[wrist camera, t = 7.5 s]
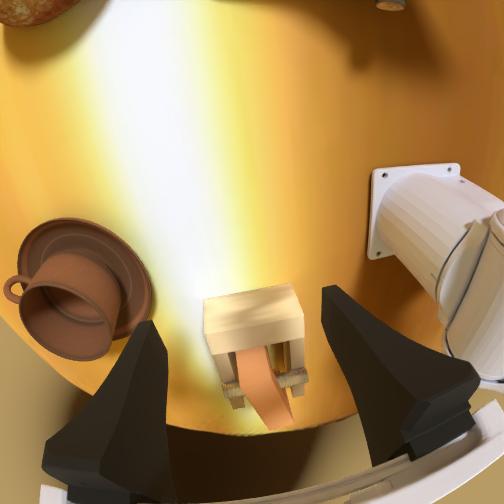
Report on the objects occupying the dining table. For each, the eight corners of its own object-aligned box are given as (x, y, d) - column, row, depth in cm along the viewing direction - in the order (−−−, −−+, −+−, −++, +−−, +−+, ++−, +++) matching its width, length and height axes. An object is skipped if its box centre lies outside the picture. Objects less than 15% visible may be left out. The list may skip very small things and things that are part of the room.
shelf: (291, 282, 25) (309, 328, 20) (295, 365, 31) (307, 405, 27) (203, 299, 25) (205, 348, 20) (229, 378, 31) (234, 420, 27)
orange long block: (259, 325, 26) (271, 378, 20) (281, 376, 29) (294, 423, 24) (233, 333, 26) (240, 387, 20) (260, 382, 30) (269, 430, 24)
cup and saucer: (53, 325, 24) (34, 373, 19) (10, 215, 18) (-30, 256, 13) (164, 326, 26) (160, 381, 21) (142, 201, 20) (122, 246, 15)
